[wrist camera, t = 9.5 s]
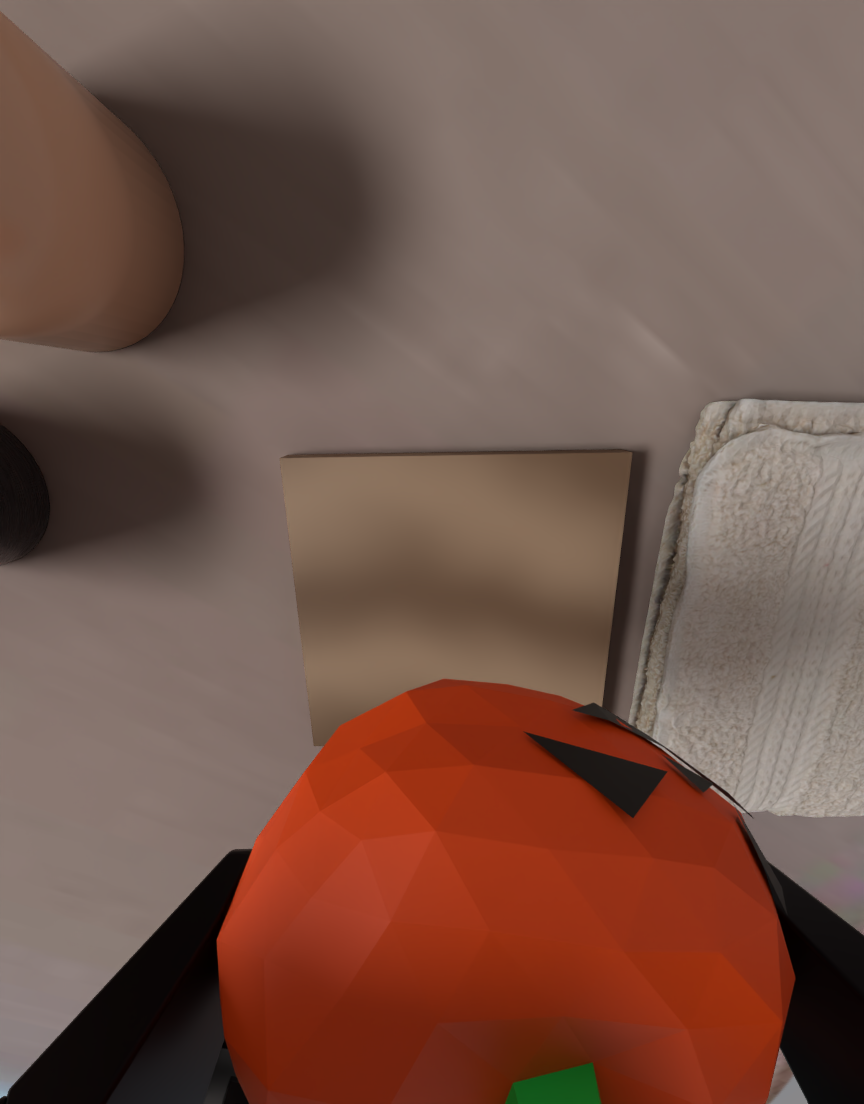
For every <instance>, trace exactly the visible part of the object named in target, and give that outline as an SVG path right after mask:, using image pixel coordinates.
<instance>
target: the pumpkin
mask: <svg viewBox="0 0 864 1104" xmlns="http://www.w3.org/2000/svg"><path fill="white" fill-rule="evenodd" d="M647 739H648V740H647ZM649 740H650V741H652V742H654V743H656V744H658V745H660V746H662V747H664V748H665V749H666V750H668V751H669V752H670V753H671V754H673V755H674V756H675V757H677V758H678V759H679V760H681V761H682V762H683V763H684V764H686V765H687V766H688V767H690V768H691V769H692V770H694V771H695V772H696V773H697V774H699V775H700V776H699V775H697V774H696V773H694V772H692V771H690V770H689V769H687V768H685V767H684V766H682V765H681V764H680V763H679V762H677V761H676V760H675V759H674V758H672V757H671V756H670V755H669V754H667V753H666V752H665V751H664V750H662V749H661V748H660V747H658V746H657V745H655V744H654V743H652V742H650V741H649ZM712 785H713V786H714V787H715V788H716V789H718V790H719V791H720V792H721V793H723V794H724V795H725V796H726V797H728V798H729V799H730V800H731V801H732V802H734V803H735V804H736V805H738V806H739V807H740V808H741V809H743V810H744V811H745V812H746V813H748V812H747V811H746V810H745V809H744V808H743V807H742V806H741V805H740V804H739V803H738V802H737V801H736V800H735V799H734V798H733V797H732V796H731V795H730V794H729V793H728V792H727V791H725V790H724V789H722V788H721V787H720V786H718V785H717V784H716V783H714V782H713V781H712V780H710V779H709V778H708V777H706V776H705V775H703V774H702V773H701V772H699V771H698V770H697V769H695V768H694V767H693V766H691V765H690V764H688V763H687V762H686V761H684V760H683V759H682V758H680V757H679V756H678V755H676V754H675V753H673V752H672V751H671V750H669V749H668V748H666V747H665V746H663V745H662V744H660V743H659V742H657V741H656V740H654V739H653V738H651V737H650V736H648V735H647V734H645V733H644V732H642V731H640V730H639V729H637V728H635V727H634V726H632V725H630V724H629V723H627V722H626V721H624V720H622V719H621V718H619V717H617V716H616V715H614V714H612V713H611V712H609V711H607V710H606V709H604V708H602V707H601V706H599V705H597V704H596V703H591V704H588V705H585V706H584V705H581V704H579V703H577V702H574V701H572V700H569V699H567V698H565V697H562V696H559V695H554V694H550V693H545V692H540V691H536V690H531V689H527V688H522V687H518V686H513V685H509V684H500V683H489V682H477V681H466V680H454V679H441V680H438V681H435V682H432V683H430V684H427V685H424V686H421V687H418V688H415V689H412V690H409V691H406V692H404V693H402V694H400V695H398V696H396V697H394V698H393V699H391V700H389V701H387V702H385V703H383V704H381V705H379V706H377V707H375V708H373V709H371V710H369V711H367V712H365V713H363V714H361V715H360V716H358V717H356V718H354V719H352V720H350V721H348V722H346V723H344V724H342V725H340V726H339V727H338V729H337V730H336V731H335V733H334V734H333V735H332V736H331V738H330V739H329V740H328V742H327V743H326V744H325V746H324V747H323V748H322V750H321V751H320V752H319V753H318V755H317V756H316V757H315V759H314V760H313V761H312V763H311V764H310V765H309V767H308V768H307V769H306V770H305V772H304V773H303V774H302V776H301V777H300V779H299V780H298V781H297V783H296V784H295V786H294V787H293V788H292V790H291V791H290V793H289V794H288V795H287V797H286V798H285V800H284V801H283V802H282V804H281V805H280V807H279V808H278V809H277V811H276V812H275V814H274V815H273V816H272V818H271V819H270V821H269V822H268V823H267V825H266V826H265V828H264V829H263V830H262V832H261V833H260V835H259V836H258V837H257V839H256V841H255V844H254V846H253V849H252V851H251V854H250V856H249V859H248V861H247V864H246V867H245V869H244V872H243V874H242V877H241V879H240V882H239V884H238V887H237V889H236V892H235V894H234V897H233V899H232V902H231V904H230V907H229V910H228V912H227V914H226V917H225V920H224V922H223V925H222V927H221V930H220V932H219V935H218V938H217V956H218V976H219V995H220V1004H221V1013H222V1022H223V1030H224V1037H225V1041H226V1044H227V1047H228V1051H229V1054H230V1058H231V1061H232V1064H233V1068H234V1071H235V1074H236V1077H237V1079H238V1081H239V1083H240V1085H241V1087H242V1090H243V1092H244V1094H245V1096H246V1098H247V1101H248V1103H249V1104H765V1103H766V1101H767V1098H768V1095H769V1091H770V1087H771V1082H772V1078H773V1074H774V1069H775V1065H776V1061H777V1056H778V1052H779V1048H780V1043H781V1039H782V1035H783V1030H784V1026H785V1022H786V1017H787V1013H788V1008H789V1004H790V1000H791V995H792V991H793V987H794V982H795V974H794V970H793V967H792V963H791V960H790V956H789V953H788V949H787V946H786V942H785V939H784V935H783V932H782V928H781V925H780V921H779V918H778V914H777V910H776V907H775V903H774V900H773V896H772V893H771V889H770V886H769V882H768V879H767V876H766V873H765V871H764V868H765V870H766V872H767V874H768V876H769V878H770V880H771V883H772V885H773V887H774V889H775V891H776V893H777V895H778V897H779V899H780V901H781V903H782V905H783V907H784V909H785V911H786V913H787V910H786V905H785V900H784V896H783V891H782V886H781V885H780V883H779V881H778V879H777V878H776V876H775V874H774V872H773V871H772V869H771V867H770V866H769V864H768V862H767V860H766V859H765V857H764V855H763V853H762V852H761V850H760V848H759V846H758V845H757V843H756V841H755V840H754V838H753V836H752V834H751V833H750V831H749V829H748V827H747V826H746V824H745V822H744V819H743V817H742V814H741V812H740V811H739V810H737V808H736V807H734V806H735V805H734V806H732V805H731V804H730V803H729V802H727V801H726V800H725V799H724V798H722V797H721V796H720V795H719V794H717V793H716V792H715V791H714V790H712V789H711V788H710V787H711V786H712ZM734 803H733V804H734ZM748 814H749V813H748ZM749 815H750V814H749ZM750 816H751V815H750ZM751 817H752V816H751ZM759 858H760V859H759ZM760 860H761V861H760ZM761 862H762V863H761ZM762 864H763V866H764V868H763V866H762ZM787 916H788V915H787Z"/></svg>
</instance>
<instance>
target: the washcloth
mask: <svg viewBox="0 0 864 1104" xmlns="http://www.w3.org/2000/svg"><path fill="white" fill-rule="evenodd" d="M695 430H696V437H695V440H694V441H693V442H691V443H690V446H691V448H690V449H689V451H688V452H687V454H686V455H685V457H684V459H683V461H682V463H681V465H680V468H679V475H680V476H681V478H680V481H679V482H678V483H677V484H676V486H675V489H674V493H675V495H674V498H673V500H672V502H671V504H670V506H669V509H668V513H667V516H666V519H665V527H664V530H663V537H662V540H661V545H660V550H659V557H658V560H657V565H656V570H655V579H654V583H653V589H652V594H651V598H650V603H649V610H648V614H647V619H646V624H645V630H644V636H643V640H642V645H641V652H640V658H639V663H638V670H637V675H636V681H635V687H634V695H633V703H632V706H631V710H630V718H629V722H628V723H629V724H630V725H632V726H634V727H635V728H637V729H639V730H640V731H642V732H644V733H645V734H647V735H648V736H650V737H651V738H653V739H654V740H656V741H657V742H659V743H660V744H662V745H663V746H665V747H666V748H668V749H669V750H671V751H672V752H673V753H675V754H676V755H678V756H679V757H680V758H682V759H683V760H684V761H686V762H687V763H688V764H690V765H691V766H693V767H694V768H695V769H697V770H698V771H699V772H701V773H702V774H703V775H705V776H706V777H708V778H709V779H710V780H712V781H713V782H714V783H716V784H717V785H718V786H720V787H721V788H722V789H724V790H725V791H727V792H728V793H729V794H730V795H731V796H732V797H733V798H734V799H735V800H736V801H737V802H738V803H739V804H740V805H741V806H742V807H743V808H744V809H745V810H746V811H747V812H748V813H749V812H759V811H765V810H768V811H769V812H771V813H773V814H775V815H778V816H785V815H788V816H793V815H794V814H795V815H802V816H804V817H823V816H830V817H836V816H841V817H848V816H862V815H864V403H844V402H842V403H839V402H803V401H780V400H758V399H752V398H746V399H740V400H738V401H719V402H712V403H708V404H707V405H706V406H705V408H704V409H703V410H702V412H701V415H700V420H699V422H698V424H697V426H696V427H695ZM647 740H648V739H647ZM649 741H650V740H649ZM650 742H652V741H650ZM652 743H654V742H652ZM654 744H655V745H657V746H658V747H660V748H661V749H662V750H664V751H665V752H666V753H667V754H669V755H670V756H671V757H672V758H674V759H675V760H676V761H677V762H679V763H680V764H681V765H682V766H684V767H685V768H687V769H689V770H690V771H692V772H694V773H696V772H695V771H694V770H692V769H691V768H690V767H688V766H687V765H686V764H684V763H683V762H682V761H681V760H679V759H678V758H677V757H675V756H674V755H673V754H671V753H670V752H669V751H668V750H666V749H665V748H664V747H662V746H660V745H658V744H656V743H654ZM696 774H697V773H696ZM697 775H699V774H697ZM699 776H700V775H699ZM710 788H711V789H712V790H714V791H715V792H716V793H717V794H719V795H720V796H721V797H722V798H724V799H725V800H726V801H727V802H729V803H730V804H731V805H732V806H734V805H735V806H734V807H736V808H737V810H739V811H740V812H741V813H746V812H745V811H744V810H743V809H741V808H740V807H739V806H738V805H736V804H735V803H734V802H732V801H731V800H730V799H729V798H728V797H726V796H725V795H724V794H723V793H721V792H720V791H719V790H718V789H716V788H715V787H714V786H713V785H712V786H711V787H710ZM733 803H734V804H733Z"/></svg>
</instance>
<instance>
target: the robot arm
mask: <svg viewBox="0 0 864 1104" xmlns="http://www.w3.org/2000/svg"><path fill="white" fill-rule="evenodd" d="M251 851H252V849H235V850H232V851H230V852H229V853H228V854H227V855H226V856H225V857H224V858H223V859H222V860H221V861H220V862H219V863H218V864H217V866H216V867H215V868H214V869H213V870H212V871H211V872H210V873H209V874H208V875H207V876H206V877H205V879H204V880H203V881H202V882H201V883H200V884H199V885H198V886H197V887H196V888H195V889H194V890H193V891H192V893H191V894H190V895H189V896H188V897H187V898H186V899H185V900H184V901H183V902H182V903H181V904H180V905H179V907H178V908H177V909H176V910H175V911H174V912H173V913H172V914H171V915H170V916H169V917H168V918H167V920H166V921H165V922H164V923H163V924H162V925H161V926H160V927H159V928H158V929H157V930H156V931H155V932H154V934H153V935H152V936H151V937H150V938H149V939H148V940H147V941H146V942H145V943H144V944H143V945H142V946H141V948H140V949H139V950H138V951H137V952H136V953H135V954H134V955H133V956H132V957H131V958H130V959H129V961H128V962H127V963H126V964H125V965H124V966H123V967H122V968H121V969H120V970H119V971H118V972H117V973H116V975H115V976H114V977H113V978H112V979H111V980H110V981H109V982H108V983H107V984H106V985H105V986H104V987H103V989H102V990H101V991H100V992H99V993H98V994H97V995H96V996H95V997H94V998H93V999H92V1000H91V1002H90V1003H89V1004H88V1005H87V1006H86V1007H85V1008H84V1009H83V1010H82V1011H81V1012H80V1013H79V1014H78V1016H77V1017H76V1018H75V1019H74V1020H73V1021H72V1022H71V1023H70V1024H69V1025H68V1026H67V1027H66V1028H65V1030H64V1031H63V1032H62V1033H61V1034H60V1035H59V1036H58V1037H57V1038H56V1039H55V1040H54V1041H53V1043H52V1044H51V1045H50V1046H49V1047H48V1048H47V1049H46V1050H45V1051H44V1052H43V1053H42V1054H41V1055H40V1057H39V1058H38V1059H37V1060H36V1061H35V1062H34V1063H33V1064H32V1065H31V1066H30V1067H29V1068H28V1069H27V1071H26V1072H25V1073H24V1074H23V1075H22V1076H21V1077H20V1078H19V1079H18V1080H17V1081H16V1082H15V1084H14V1085H13V1086H12V1087H11V1088H10V1089H9V1091H8V1094H7V1097H6V1096H3V1097H2V1098H0V1104H249V1103H248V1101H247V1098H246V1096H245V1094H244V1092H243V1090H242V1087H241V1085H240V1083H239V1081H238V1079H237V1077H236V1074H235V1071H234V1068H233V1064H232V1061H231V1058H230V1054H229V1051H228V1047H227V1044H226V1041H225V1037H224V1030H223V1022H222V1013H221V1004H220V995H219V976H218V956H217V938H218V935H219V932H220V930H221V927H222V925H223V922H224V920H225V917H226V914H227V912H228V910H229V907H230V904H231V902H232V899H233V897H234V894H235V892H236V889H237V887H238V884H239V882H240V879H241V877H242V874H243V872H244V869H245V867H246V864H247V861H248V859H249V856H250V854H251ZM759 859H760V858H759ZM760 861H761V860H760ZM767 862H768V861H767ZM761 863H762V862H761ZM768 864H769V866H770V867H771V869H772V871H773V872H774V874H775V876H776V878H777V879H778V881H779V883H780V885H781V886H782V891H783V896H784V900H785V905H786V910H787V913H786V911H785V909H784V907H783V905H782V903H781V901H780V899H779V897H778V895H777V893H776V891H775V889H774V887H773V885H772V883H771V880H770V878H769V876H768V874H767V872H766V870H765V868H764V866H763V864H762V866H763V868H764V871H765V873H766V876H767V879H768V882H769V886H770V889H771V893H772V896H773V900H774V903H775V907H776V910H777V914H778V918H779V921H780V925H781V928H782V932H783V935H784V939H785V942H786V946H787V949H788V953H789V956H790V960H791V963H792V967H793V970H794V974H795V982H794V987H793V991H792V995H791V1000H790V1004H789V1008H788V1013H787V1017H786V1022H785V1026H784V1030H783V1035H782V1039H781V1043H780V1049H781V1051H782V1053H783V1055H784V1057H785V1059H786V1061H787V1063H788V1065H789V1067H790V1069H791V1071H792V1072H793V1074H794V1076H795V1078H796V1080H797V1082H798V1084H799V1086H800V1088H801V1090H802V1092H803V1094H804V1096H805V1098H806V1100H807V1102H808V1104H864V935H863V934H861V933H860V932H859V931H857V930H856V929H855V928H854V927H852V926H851V925H850V924H848V923H847V922H846V921H844V920H843V919H842V918H841V917H839V916H838V915H837V914H835V913H834V912H833V911H832V910H830V909H829V908H828V907H826V906H825V905H824V904H822V903H821V902H820V901H819V900H817V899H816V898H815V897H813V896H812V895H811V894H810V893H808V892H807V891H806V890H804V889H803V888H802V887H800V886H799V885H798V884H797V883H795V882H794V881H793V880H791V879H790V878H789V877H788V876H786V875H785V874H784V873H782V872H781V871H780V870H778V869H777V868H776V867H775V866H773V865H772V864H771V863H769V862H768ZM787 915H788V916H787Z"/></svg>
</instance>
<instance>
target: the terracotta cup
mask: <svg viewBox="0 0 864 1104" xmlns="http://www.w3.org/2000/svg"><path fill="white" fill-rule="evenodd" d="M183 265H184V240H183V230H182V225H181V220H180V215H179V211H178V208H177V205H176V202H175V199H174V196H173V193H172V191H171V189H170V186H169V184H168V182H167V180H166V177H165V176H164V174H163V172H162V170H161V169H160V167H159V165H158V163H157V162H156V160H155V159H154V157H153V156H152V154H151V153H150V152H149V150H148V149H147V148H146V146H145V145H144V144H143V143H142V141H141V140H140V139H139V138H138V137H137V136H136V135H135V134H134V133H133V131H132V130H131V129H129V128H128V127H127V126H126V125H125V124H124V123H123V122H122V121H121V120H120V119H118V118H117V117H116V116H115V115H114V114H113V113H112V112H111V111H110V110H109V109H107V108H106V107H105V106H104V105H103V104H102V103H101V102H100V101H99V100H98V99H96V98H95V97H94V96H93V95H92V94H91V93H90V92H89V91H88V90H87V89H85V88H84V87H83V86H82V85H81V84H80V83H79V82H78V81H77V80H76V79H74V78H73V77H72V76H71V75H70V74H69V73H68V72H67V71H66V70H65V69H63V68H62V67H61V66H60V65H59V64H58V63H57V62H56V61H55V60H54V59H52V58H51V57H50V56H49V55H48V54H47V53H46V52H45V51H44V50H43V49H41V48H40V47H39V46H38V45H37V44H36V43H35V42H34V41H33V40H32V39H30V38H29V37H28V36H27V35H26V34H25V33H24V32H23V31H22V30H21V29H19V28H18V27H17V26H16V25H15V24H14V23H13V22H12V21H11V20H10V19H8V18H7V17H6V16H5V15H4V14H3V13H2V12H1V11H0V339H2V340H9V341H16V342H22V343H29V344H36V345H43V346H50V347H57V348H64V349H71V350H78V351H86V352H105V351H113V350H117V349H121V348H125V347H127V346H129V345H132V344H134V343H136V342H138V341H140V340H141V339H143V338H144V337H146V336H147V335H149V334H150V333H151V332H152V331H153V330H154V329H155V328H157V326H158V325H159V324H160V323H161V322H162V320H163V319H164V318H165V317H166V315H167V313H168V312H169V310H170V308H171V307H172V305H173V303H174V300H175V298H176V295H177V293H178V290H179V286H180V282H181V279H182V272H183Z"/></svg>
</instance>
